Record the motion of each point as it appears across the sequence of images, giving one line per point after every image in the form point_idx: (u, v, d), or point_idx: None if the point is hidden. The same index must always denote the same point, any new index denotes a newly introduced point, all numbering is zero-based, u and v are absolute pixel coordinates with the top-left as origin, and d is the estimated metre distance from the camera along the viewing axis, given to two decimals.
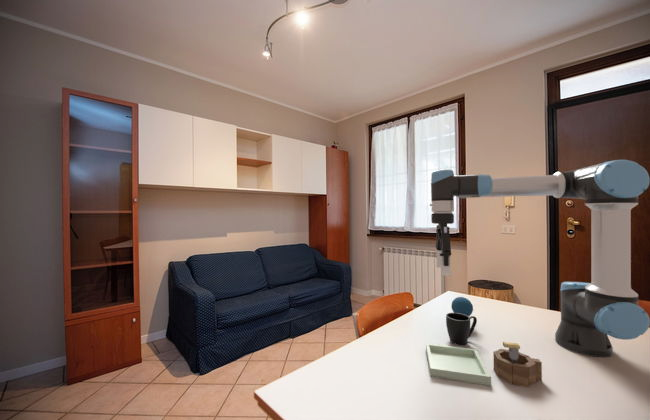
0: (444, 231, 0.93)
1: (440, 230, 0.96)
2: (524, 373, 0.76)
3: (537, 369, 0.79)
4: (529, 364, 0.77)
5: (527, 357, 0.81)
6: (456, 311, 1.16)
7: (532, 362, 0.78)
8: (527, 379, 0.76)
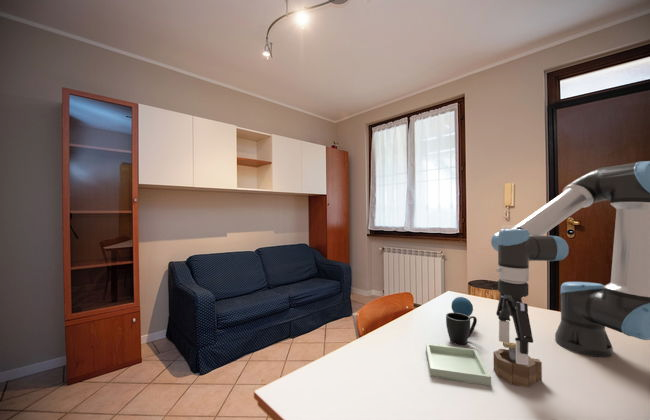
0: (521, 309, 0.75)
1: (512, 304, 0.79)
2: (524, 373, 0.76)
3: (537, 369, 0.79)
4: (529, 364, 0.77)
5: None
6: (456, 311, 1.16)
7: (532, 362, 0.78)
8: (527, 379, 0.76)
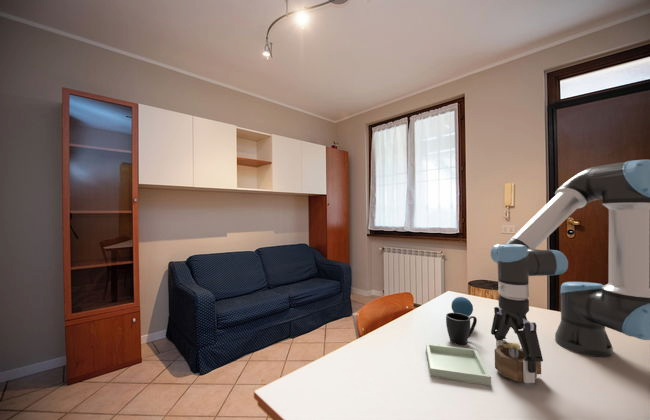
0: (531, 329, 0.75)
1: (517, 321, 0.78)
2: None
3: (537, 363, 0.80)
4: None
5: None
6: (456, 311, 1.16)
7: None
8: None
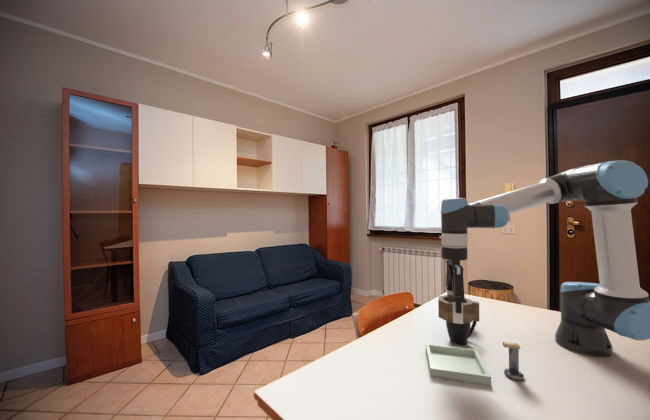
0: (457, 273, 0.80)
1: (452, 268, 0.84)
2: None
3: (475, 310, 0.83)
4: (465, 304, 0.83)
5: (468, 300, 0.86)
6: None
7: (469, 303, 0.83)
8: None
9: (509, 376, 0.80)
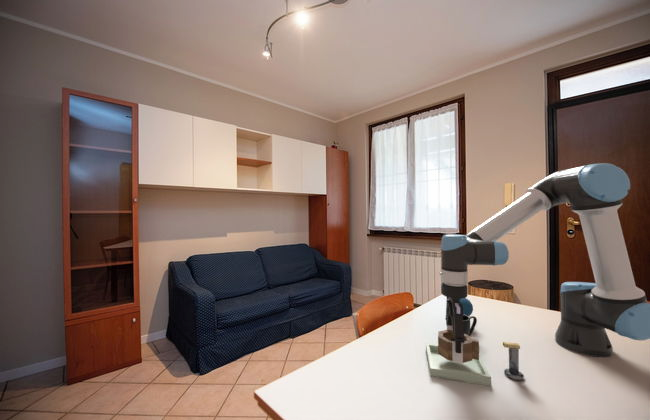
0: (457, 312, 0.80)
1: (452, 305, 0.84)
2: None
3: (475, 348, 0.83)
4: (465, 342, 0.82)
5: (468, 337, 0.86)
6: None
7: (469, 341, 0.83)
8: None
9: (509, 376, 0.80)
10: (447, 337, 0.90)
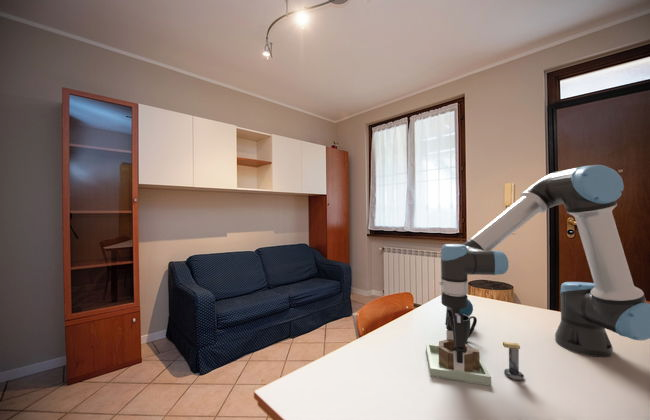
0: (457, 321, 0.80)
1: (452, 316, 0.84)
2: None
3: (475, 359, 0.83)
4: (465, 353, 0.82)
5: (468, 347, 0.86)
6: None
7: (470, 352, 0.83)
8: None
9: (509, 376, 0.80)
10: (448, 347, 0.90)
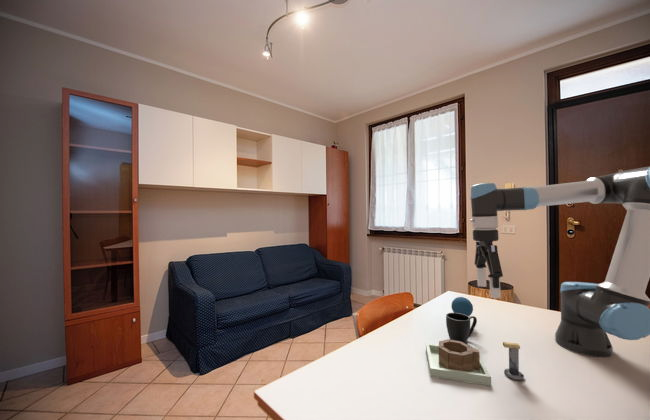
0: (492, 250, 0.86)
1: (485, 248, 0.90)
2: (459, 361, 0.82)
3: (475, 359, 0.83)
4: (465, 353, 0.82)
5: (468, 347, 0.86)
6: (456, 311, 1.16)
7: (470, 352, 0.83)
8: (461, 366, 0.81)
9: (509, 376, 0.80)
10: (448, 347, 0.90)
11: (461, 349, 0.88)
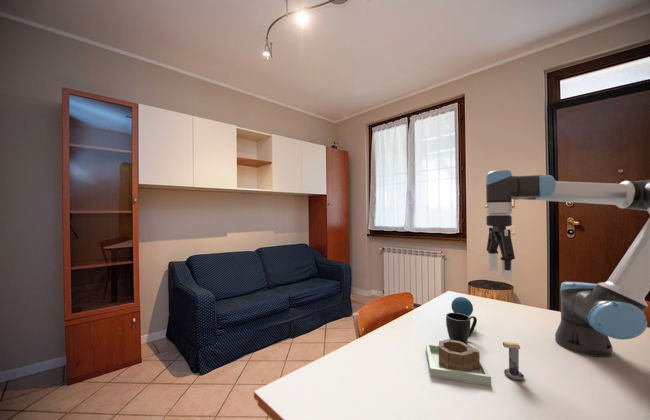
0: (505, 234, 0.89)
1: (498, 233, 0.93)
2: (459, 361, 0.82)
3: (475, 359, 0.83)
4: (465, 353, 0.82)
5: (468, 347, 0.86)
6: (456, 311, 1.16)
7: (470, 352, 0.83)
8: (461, 366, 0.81)
9: (509, 376, 0.80)
10: (448, 347, 0.90)
11: (461, 349, 0.88)
